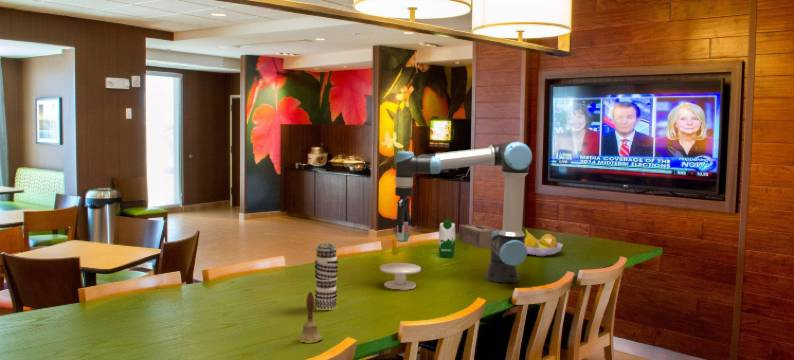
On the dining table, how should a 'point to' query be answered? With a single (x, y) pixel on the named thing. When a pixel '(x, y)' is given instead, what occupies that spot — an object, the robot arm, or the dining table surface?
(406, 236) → the cupcake
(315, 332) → the hand bell
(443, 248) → the milk carton
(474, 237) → the tissue box cover
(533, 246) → the fruit bowl
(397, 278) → the cake stand
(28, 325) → the dining table surface
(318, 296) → the decorative candle
